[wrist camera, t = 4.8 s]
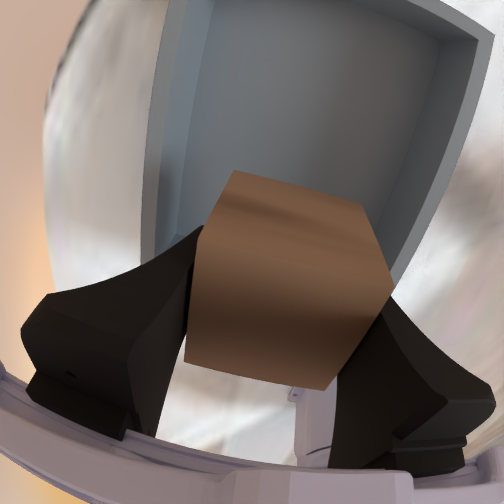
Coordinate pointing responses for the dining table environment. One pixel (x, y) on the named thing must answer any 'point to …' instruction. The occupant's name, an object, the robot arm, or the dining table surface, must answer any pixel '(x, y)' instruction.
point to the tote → (311, 109)
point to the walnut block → (283, 283)
